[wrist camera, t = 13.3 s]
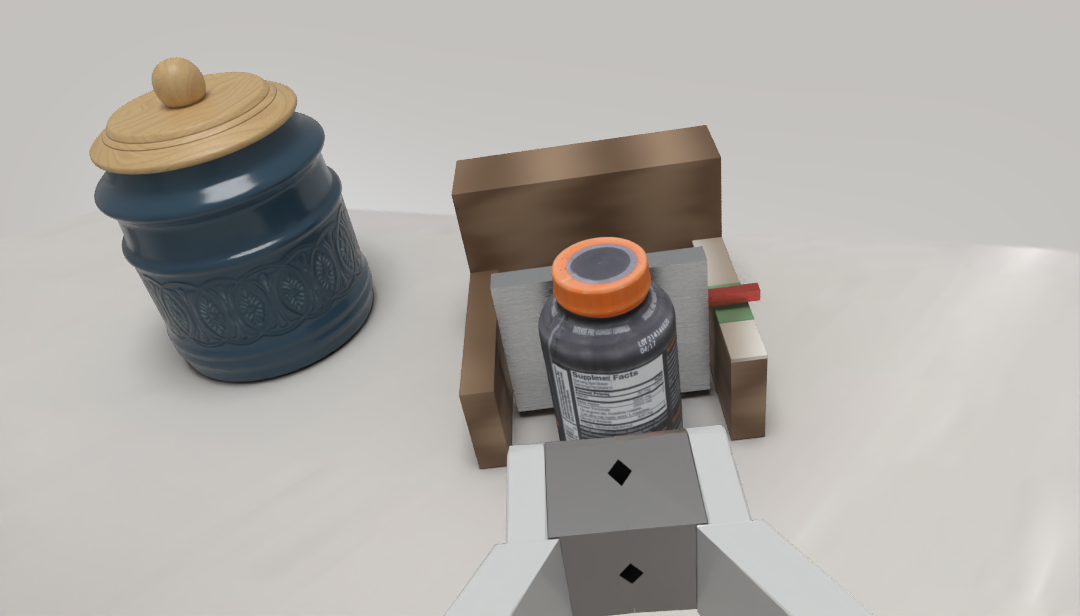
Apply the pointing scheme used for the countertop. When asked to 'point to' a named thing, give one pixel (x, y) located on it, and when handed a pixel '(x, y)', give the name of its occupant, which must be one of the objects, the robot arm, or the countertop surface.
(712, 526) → the robot arm
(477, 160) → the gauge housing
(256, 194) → the canister
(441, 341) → the countertop surface
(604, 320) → the pill bottle
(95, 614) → the countertop surface
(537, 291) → the brushed metal plate
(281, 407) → the countertop surface
